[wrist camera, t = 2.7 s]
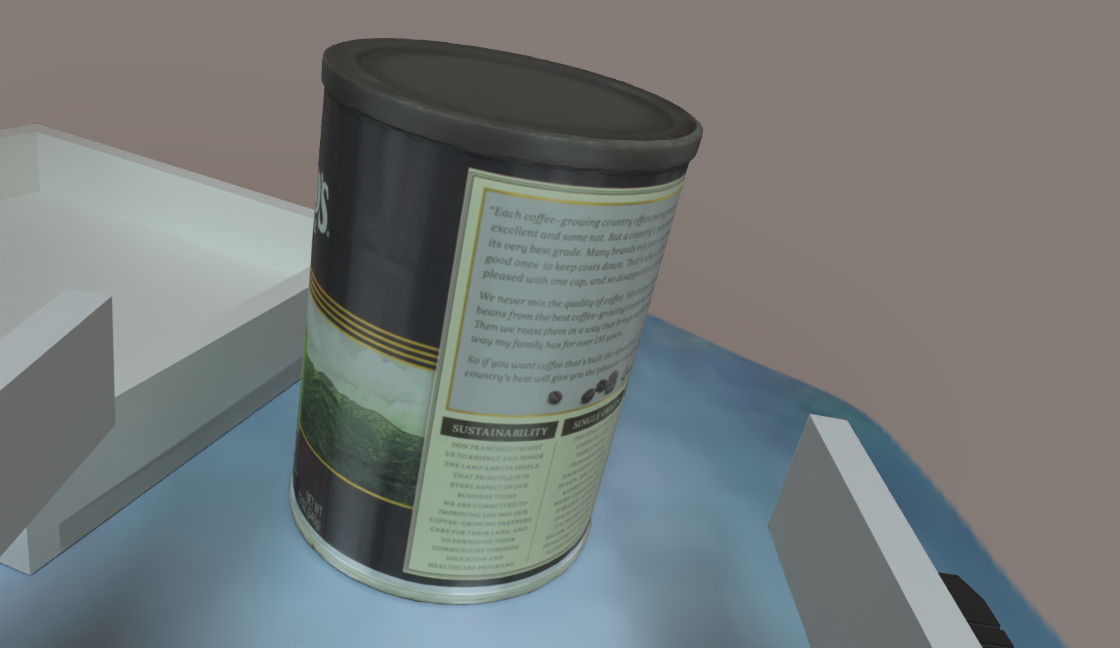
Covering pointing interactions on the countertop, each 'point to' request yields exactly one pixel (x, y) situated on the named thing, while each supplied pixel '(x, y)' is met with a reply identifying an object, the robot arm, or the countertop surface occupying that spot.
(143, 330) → the box
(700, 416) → the countertop surface
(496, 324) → the coffee can
